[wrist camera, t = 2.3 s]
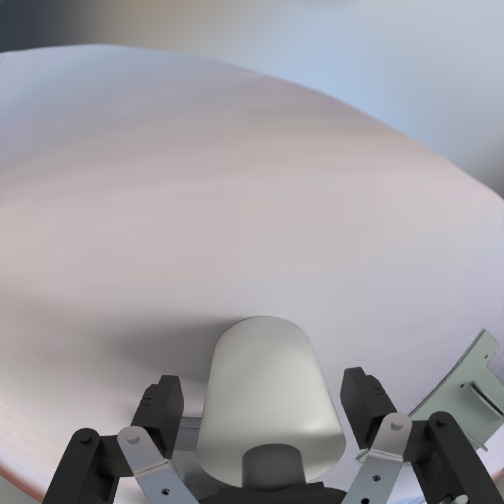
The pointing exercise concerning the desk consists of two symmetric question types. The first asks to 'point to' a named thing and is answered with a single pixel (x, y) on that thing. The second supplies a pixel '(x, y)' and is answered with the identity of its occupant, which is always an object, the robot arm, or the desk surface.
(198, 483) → the motor
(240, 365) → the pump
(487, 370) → the metal bracket
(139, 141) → the desk surface
